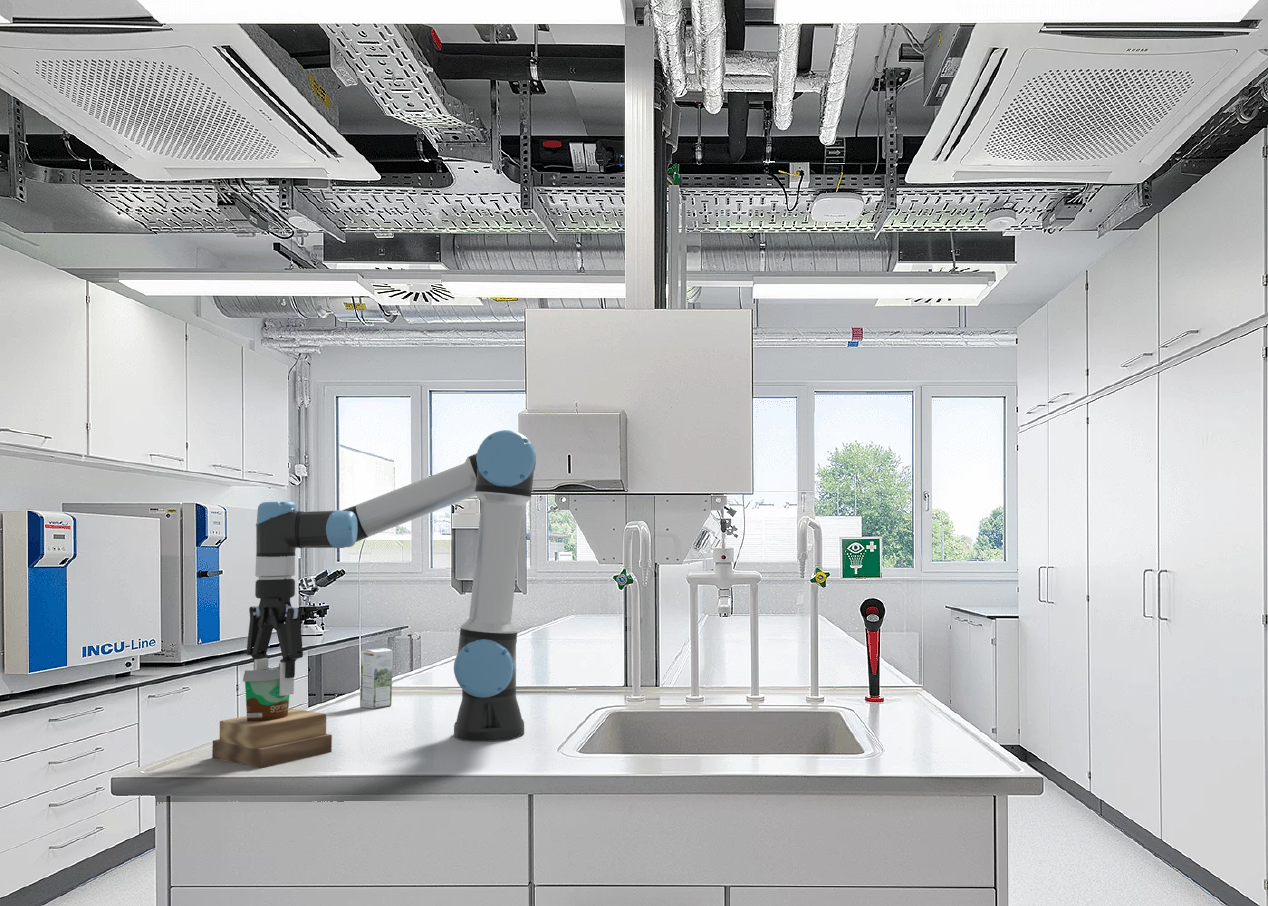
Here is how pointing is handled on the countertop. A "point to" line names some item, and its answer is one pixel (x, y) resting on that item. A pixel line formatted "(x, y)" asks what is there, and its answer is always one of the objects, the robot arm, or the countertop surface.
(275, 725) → the tower top
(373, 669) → the syrup box
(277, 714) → the food container
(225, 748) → the tower base
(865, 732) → the countertop surface
